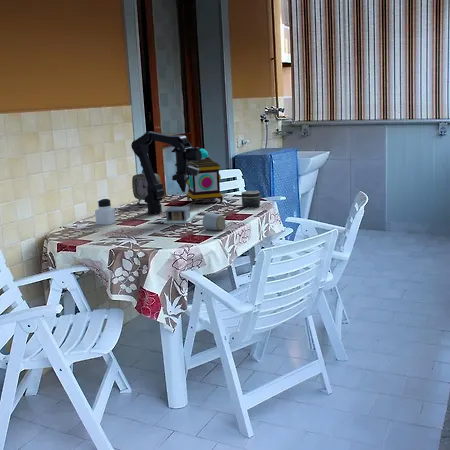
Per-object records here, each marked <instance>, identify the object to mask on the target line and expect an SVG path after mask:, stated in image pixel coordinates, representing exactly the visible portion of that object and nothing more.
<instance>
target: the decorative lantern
mask: <svg viewBox="0 0 450 450" xmlns="http://www.w3.org/2000/svg"><path fill="white" fill-rule="evenodd" d="M199 150H200V151H201V154H202V158H201V160H200V161H188V162H189V166H193V167H194V165H198V168H199V169H200V171H199V173H198V175H197V176H194V175H192V176H190V175H187V177H190V178H189V179H188V180H187V183H186V186H188V191H187V193H186V200H187V201H190V200H191V204H192V206H195V203H196V201H198V200H199V201H200V200H208V199H209V200H210V199H219V202H220V203H223V197H224V196H223V195H222V193H221V186H220V182H221V180H222V179H221V178H222V177H221V174H220V169H221V165H220V164H219V163H218V162H217V161H215V160H212V158H211V157H209V153H208V151H207V150H206V149H205V148H199Z"/></svg>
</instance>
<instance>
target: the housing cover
mask: <svg viewBox="0 0 450 450" xmlns="http://www.w3.org/2000/svg"><path fill="white" fill-rule="evenodd" d="M190 208H191V207H190V206H170V207H169V208H167V209H166V210H165V215H166V216H165V217H166V218H165V220H167V221H169V220H170V219H171V218H172V214H171V212H178V211H184V221H186V220H187V219H188V218H189V217H190V212H191V209H190Z"/></svg>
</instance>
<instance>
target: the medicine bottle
mask: <svg viewBox="0 0 450 450" xmlns="http://www.w3.org/2000/svg"><path fill="white" fill-rule="evenodd" d="M115 211H116V210H115V207H112V204H111V200H110V198H101V199H98V200H97V209H95V210H94V215H95V224H96V225H97V226H99V225H100V226H101V225H102V226H110V225H112V224H114V223H116V212H115Z"/></svg>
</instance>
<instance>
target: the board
mask: <svg viewBox="0 0 450 450" xmlns="http://www.w3.org/2000/svg"><path fill="white" fill-rule="evenodd" d="M198 215H199V212H198V211H190V217H189V218H188V219H187V220H186V221H184V219H183V220H172V218H171V219H170V220H169V221H167V220H166V219H165V220H163V224H166V225H167V224H189V223H190V222H191V221H193V219H195V218H196V216H198Z"/></svg>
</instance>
